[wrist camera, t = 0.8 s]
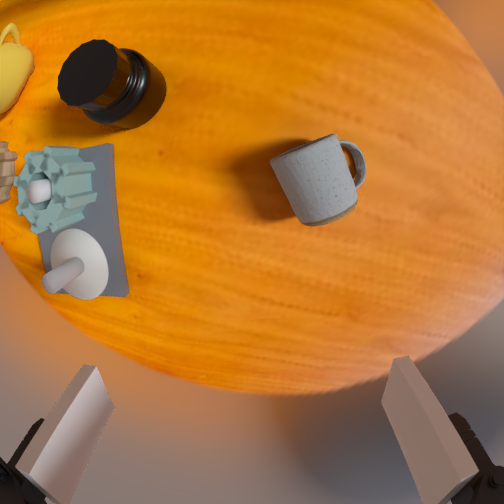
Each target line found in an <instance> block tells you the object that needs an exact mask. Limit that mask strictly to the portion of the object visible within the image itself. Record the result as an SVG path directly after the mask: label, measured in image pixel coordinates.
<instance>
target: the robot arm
mask: <svg viewBox="0 0 504 504" xmlns="http://www.w3.org/2000/svg"><path fill="white" fill-rule="evenodd" d="M381 403H382V405H383V407H384V410H385V412H386V414H387V416H388V419H389V421H390V423H391V425H392V428H393V430H394V432H395V435H396V437H397V439H398V442H399V444H400V446H401V449H402V451H403V454H404V456H405V459H406V461H407V464H408V466H409V469H410V471H411V473H412V476H413V479H414V481H415V484H416V486H417V489H418V492H419V494H420V497H421V500H422V502H423V504H447V503H448V502H449V501H450V500H451V502H452V504H504V467H502V466H495V465H494V464H493V463H492V461H491V460H490V458H489V456H488V455H487V453H486V451H485V450H484V448H483V446H482V445H481V443H480V441H479V440H478V439H477V438H476V435H475V433H474V432H473V430H471V427H470V425H469V424H468V422H467V421H466V419H465V418H463V417H462V416H461V415H459V414H458V413H454V414H451V415H448V416H447V414H446V413H445V411H444V409H443V408H442V406H441V405H440V403H439V402H438V400H437V398H436V397H435V395H434V394H433V392H432V391H431V389H430V387H429V386H428V384H427V383H426V381H425V380H424V378H423V377H422V375H421V374H420V372H419V371H418V369H417V368H416V366H415V365H414V363H413V362H412V360H411V359H410V358H409V356H406V357H401V358H396V359H393V363H392V367H391V370H390V374H389V378H388V381H387V385H386V388H385V391H384V395H383V398H382V401H381ZM114 408H115V407H114V404H113V402H112V400H111V398H110V396H109V394H108V392H107V390H106V388H105V385H104V383H103V381H102V378H101V376H100V374H99V372H98V369H97V367H96V366H90V365H83V366H82V368H81V369H80V370H79V372H78V373H77V374H76V376H75V377H74V379H73V380H72V381H71V383H70V384H69V385H68V387H67V388H66V390H65V391H64V392H63V394H62V395H61V397H60V398H59V400H58V401H57V402H56V404H55V406H54V407H53V408H52V410H51V411H50V413H49V414H48V416H47V417H46V419H42V418H41V419H40V420H38V421H37V422H36V423H35V424H33V425H32V427H31V428H30V430H29V431H28V434H26V436H25V438H24V440H23V441H22V442H21V444H20V445H19V447H18V448H17V450H16V451H15V453H14V454H13V456H12V458H11V459H10V461H9V462H8V463H7V464H6V463H5V462H4V461H3V460H2V458H1V457H0V504H47V503H46V501H45V500H44V499H45V497H47V498H49V499H50V500H51V501H52V502H53V503H55V504H70V502H71V500H72V497H73V495H74V493H75V491H76V488H77V486H78V484H79V481H80V479H81V477H82V475H83V473H84V470H85V468H86V466H87V464H88V462H89V460H90V457H91V455H92V453H93V451H94V449H95V447H96V445H97V443H98V441H99V438H100V436H101V434H102V432H103V430H104V428H105V426H106V424H107V422H108V420H109V418H110V416H111V414H112V412H113V410H114Z"/></svg>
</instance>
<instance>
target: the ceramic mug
mask: <svg viewBox="0 0 504 504" xmlns="http://www.w3.org/2000/svg"><path fill="white" fill-rule="evenodd" d="M341 145H342V146H344V147H346V148H348V149H349V151H350V152H351V154H352V156H353V159H354V163H355V166H356V171H357V174H356V178H355V180H354V181H353V178H352V176H351V174H350V171H349V168H348V165H347V162H346V159H345V156H344V153H343V151H342V148H341ZM270 165H271V167H272V169H273V171H274V173H275V175H276V177H277V179H278V181H279V183H280V185H281V187H282V189H283V191H284V193H285V195H286V197H287V199H288V201H289V203H290V205H291V207H292V210H293V212H294V214H295V215H296V216H297V218H298V219H299V221H300V222H301V223H302V224H304V225H307V226H320V225H324V224H328V223H331V222H333V221H336V220H338V219H340V218H342V217H344V216H345V215H347V214H348V213H350V212H351V211H352V210H353V209H354V208H355V206H356V204H357V201H358V200H357V192H356V189H358V188H359V187H360V186H361V185H362V183H363V182H364V180H365V176H366V163H365V159H364V156H363V154H362V152H361V150H360V149H359V147H358V146H356V145H355V144H354V143H352V142H349V141H345V140H338V138H337V136H336V134H330V135H328V136H324V137H322V138H319V139H316V140H313V141H311V142H308V143H306V144H303V145H301V146H298V147H296V148H293V149H291V150H289V151H287V152H284V153H282V154H280V155H278V156H276V157H274V158H272V159H271V160H270Z"/></svg>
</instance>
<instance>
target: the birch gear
mask: <svg viewBox="0 0 504 504" xmlns="http://www.w3.org/2000/svg"><path fill="white" fill-rule="evenodd" d="M7 146H8V142H5V141H0V203H2V202H5V201H8V200H9V199H10V198H11V197H10V194H9V192H10V189H11V187H12V185H13V184H14V177H15V176H17V175H15V166H14V161H15V160H16V159H17V155H16V152H10V151H9V150H8V148H7Z"/></svg>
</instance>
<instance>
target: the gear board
mask: <svg viewBox="0 0 504 504" xmlns="http://www.w3.org/2000/svg"><path fill="white" fill-rule="evenodd" d="M24 159H25V162H26V163H25V165H24V168H23V170H22V172H21V174H20V175H18V176H15V177H14V184H13V185H14V186H16V187H17V190H18V201H19V205H18V206H17V207H16V211H17V213H18V216H20V215H24V216H25V217H26V218H27V220H28V221H29V222H30V223H31V232H33V233H35V234H38V236H39V242H40V247H41V252H42V258H43V262H44V267H45V272H46V274H45V275H44V276H43V278H42V284H43V287H44V289H45V290H46V291H47V292H48V293H50V294H55V293H61V294H70V295H72V296H73V297H76V298H78V299H82V300H90V299H94V298H96V297H98V296H117V297H126V295H127V294H128V293H129V288H128V282H127V276H126V271H125V264H124V258H123V251H122V244H121V237H120V229H119V220H118V210H117V199H116V187H115V171H114V146H113V144H103V145H98V146H93V147H88V148H83V149H79V148H76V147H64V146H45V150H44V151H29V152H28V153H27V154H26V155H25V156H24Z"/></svg>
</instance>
